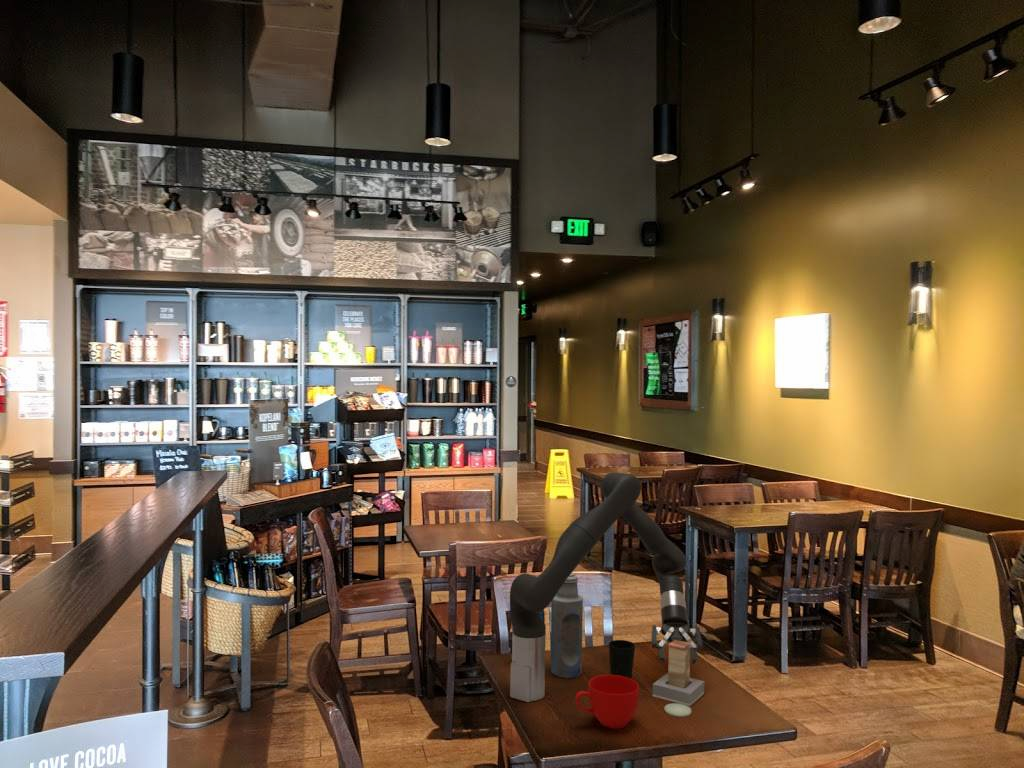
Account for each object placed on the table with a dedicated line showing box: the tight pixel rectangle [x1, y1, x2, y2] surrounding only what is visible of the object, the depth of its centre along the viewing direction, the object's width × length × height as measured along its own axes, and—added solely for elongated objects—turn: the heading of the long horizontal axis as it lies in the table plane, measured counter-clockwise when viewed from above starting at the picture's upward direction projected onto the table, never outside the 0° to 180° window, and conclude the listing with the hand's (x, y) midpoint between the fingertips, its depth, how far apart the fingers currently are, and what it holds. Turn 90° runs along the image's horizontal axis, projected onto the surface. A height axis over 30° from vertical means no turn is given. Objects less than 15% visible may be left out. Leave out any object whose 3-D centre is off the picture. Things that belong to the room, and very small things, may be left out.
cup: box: [608, 639, 636, 680], centre depth 216 cm, size 8×8×12 cm
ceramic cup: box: [575, 674, 640, 730], centre depth 191 cm, size 13×17×10 cm
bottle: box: [549, 572, 584, 679], centre depth 226 cm, size 10×10×30 cm
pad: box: [664, 702, 692, 718], centre depth 199 cm, size 7×7×1 cm
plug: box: [667, 640, 691, 689], centre depth 210 cm, size 5×5×14 cm
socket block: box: [652, 672, 705, 707], centre depth 210 cm, size 11×11×3 cm
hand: (678, 662), depth 211 cm, fingers open, 8 cm apart
